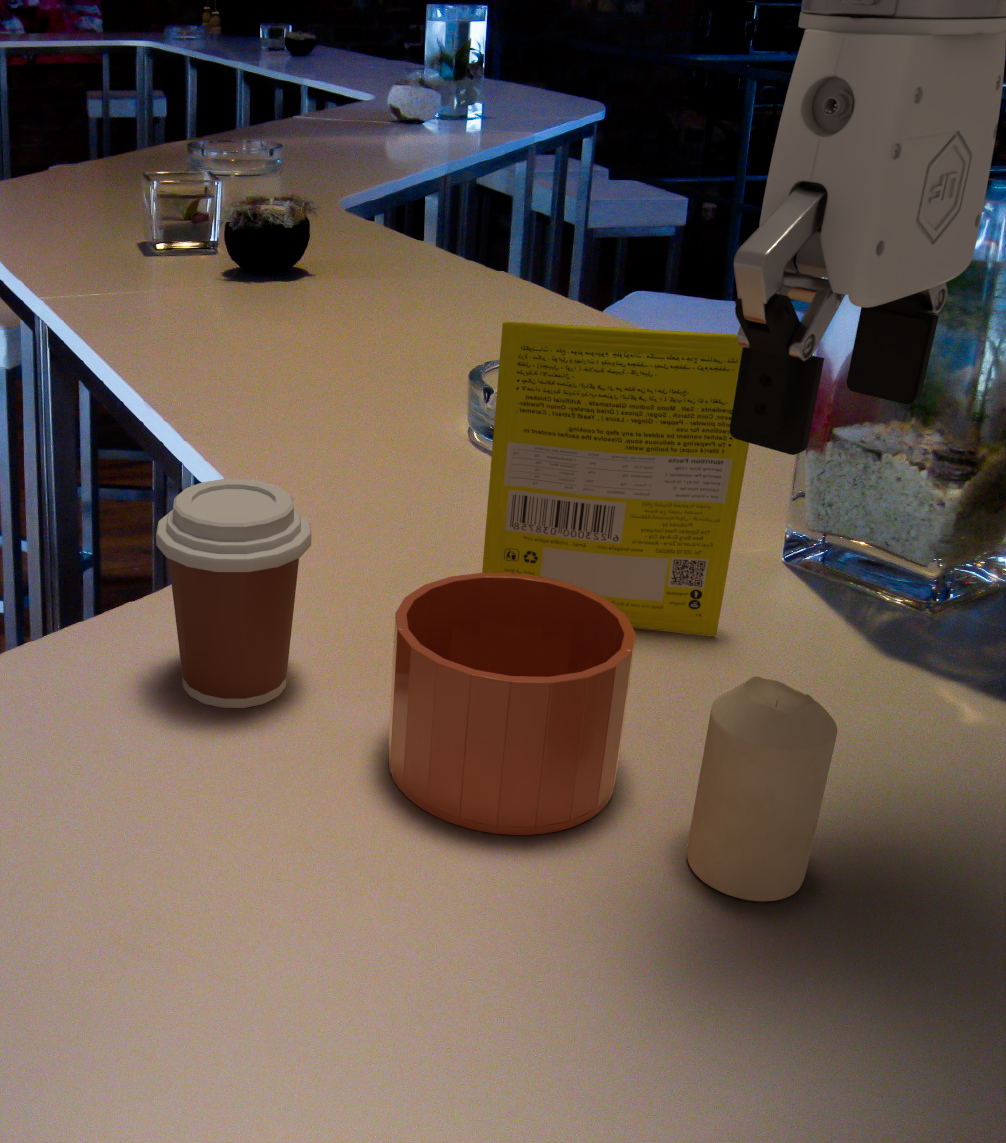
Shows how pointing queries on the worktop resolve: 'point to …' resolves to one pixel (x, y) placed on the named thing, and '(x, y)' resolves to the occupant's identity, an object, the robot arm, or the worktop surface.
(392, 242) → the worktop surface
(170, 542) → the coffee cup
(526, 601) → the pot cup
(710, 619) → the food package
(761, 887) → the candle
